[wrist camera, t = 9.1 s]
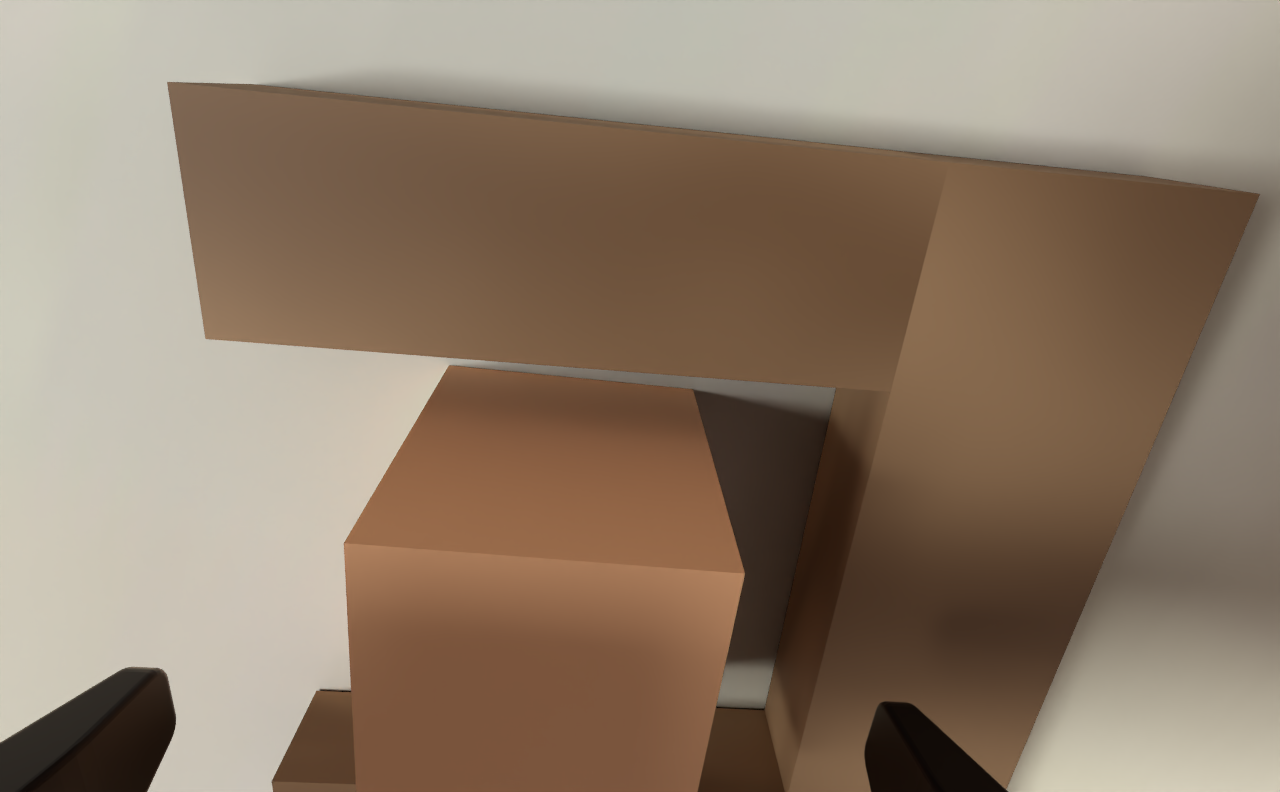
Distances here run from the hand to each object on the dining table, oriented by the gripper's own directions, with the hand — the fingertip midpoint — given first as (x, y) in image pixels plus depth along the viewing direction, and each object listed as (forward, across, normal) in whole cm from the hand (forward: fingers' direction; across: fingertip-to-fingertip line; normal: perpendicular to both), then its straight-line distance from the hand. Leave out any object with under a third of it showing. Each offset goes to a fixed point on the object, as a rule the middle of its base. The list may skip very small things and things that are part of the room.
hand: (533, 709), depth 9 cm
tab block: (+4, 0, 0) cm, 4 cm away
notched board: (+4, -2, 0) cm, 4 cm away
